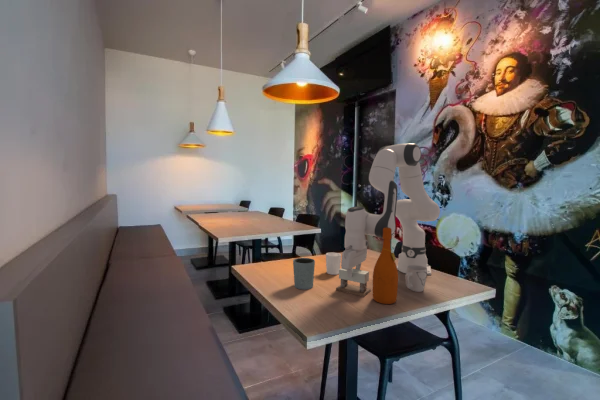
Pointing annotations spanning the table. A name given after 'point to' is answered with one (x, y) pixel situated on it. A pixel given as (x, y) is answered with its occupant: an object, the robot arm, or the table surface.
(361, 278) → the white rectangular block
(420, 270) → the mug
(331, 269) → the white cup
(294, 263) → the dark grey cup
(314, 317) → the table surface
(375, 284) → the wine bottle
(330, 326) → the table surface
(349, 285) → the peg stand
